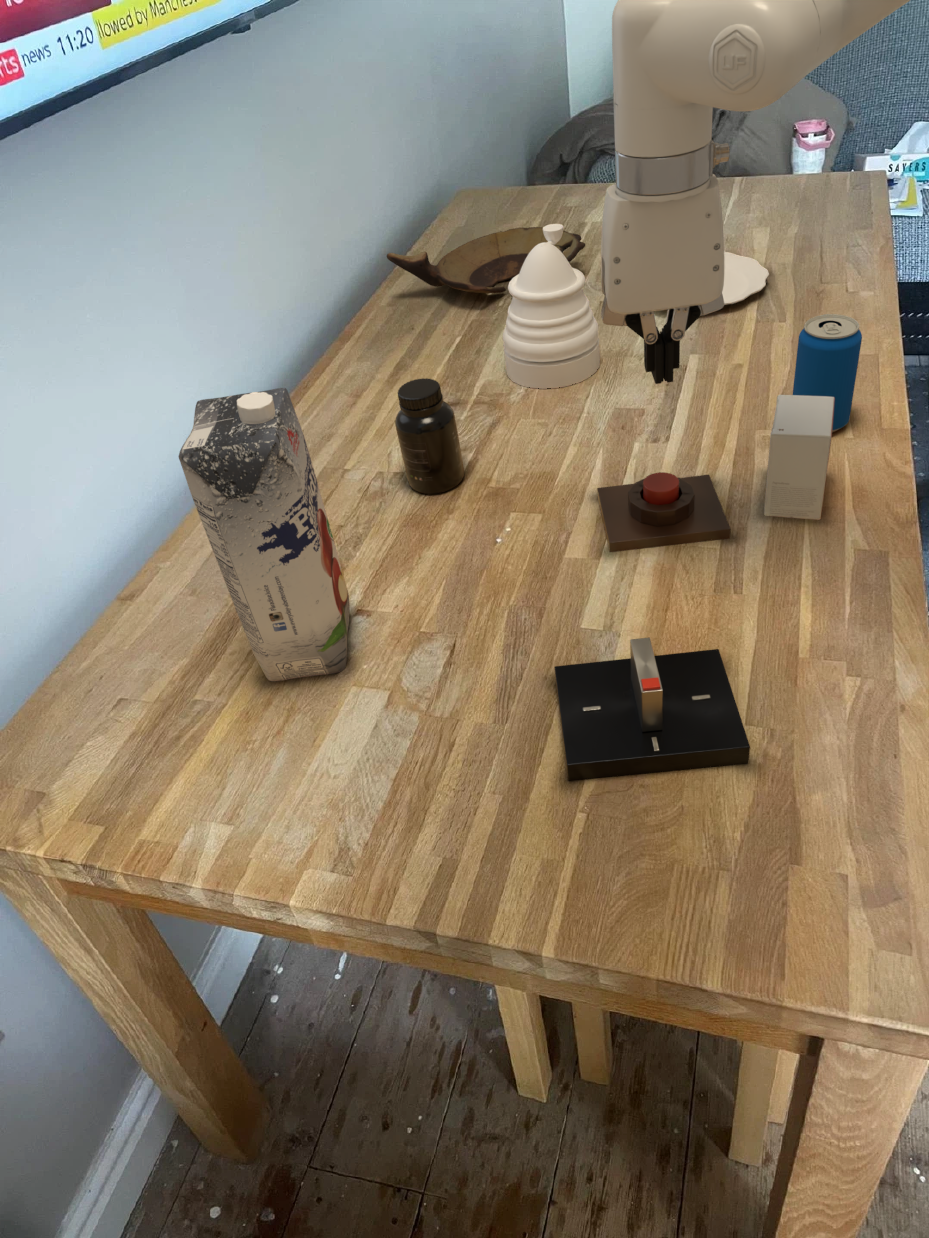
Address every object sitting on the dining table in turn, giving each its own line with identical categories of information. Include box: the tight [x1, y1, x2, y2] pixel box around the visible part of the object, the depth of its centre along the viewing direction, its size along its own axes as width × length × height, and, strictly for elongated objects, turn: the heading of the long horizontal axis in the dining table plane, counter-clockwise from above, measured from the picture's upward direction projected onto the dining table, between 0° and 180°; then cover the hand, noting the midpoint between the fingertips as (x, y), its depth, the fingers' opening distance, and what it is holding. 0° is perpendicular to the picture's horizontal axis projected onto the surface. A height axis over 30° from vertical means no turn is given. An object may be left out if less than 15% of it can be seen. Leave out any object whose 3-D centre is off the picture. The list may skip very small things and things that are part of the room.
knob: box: [629, 637, 663, 732], centre depth 75 cm, size 6×2×5 cm, turn 1°
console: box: [554, 648, 751, 782], centre depth 77 cm, size 14×11×3 cm
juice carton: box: [178, 387, 350, 682], centre depth 82 cm, size 9×10×27 cm
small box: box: [763, 394, 835, 521], centre depth 95 cm, size 8×6×10 cm
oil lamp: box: [386, 226, 586, 294], centre depth 151 cm, size 22×30×8 cm
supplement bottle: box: [394, 377, 465, 495], centre depth 107 cm, size 7×7×12 cm
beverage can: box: [792, 313, 863, 433], centre depth 105 cm, size 6×6×12 cm
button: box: [643, 471, 679, 505], centre depth 96 cm, size 4×4×2 cm
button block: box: [596, 474, 731, 553], centre depth 97 cm, size 12×10×4 cm
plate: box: [722, 251, 770, 306], centre depth 141 cm, size 21×21×2 cm
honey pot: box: [502, 223, 601, 390], centre depth 123 cm, size 13×13×18 cm
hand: (661, 376), depth 88 cm, fingers closed
